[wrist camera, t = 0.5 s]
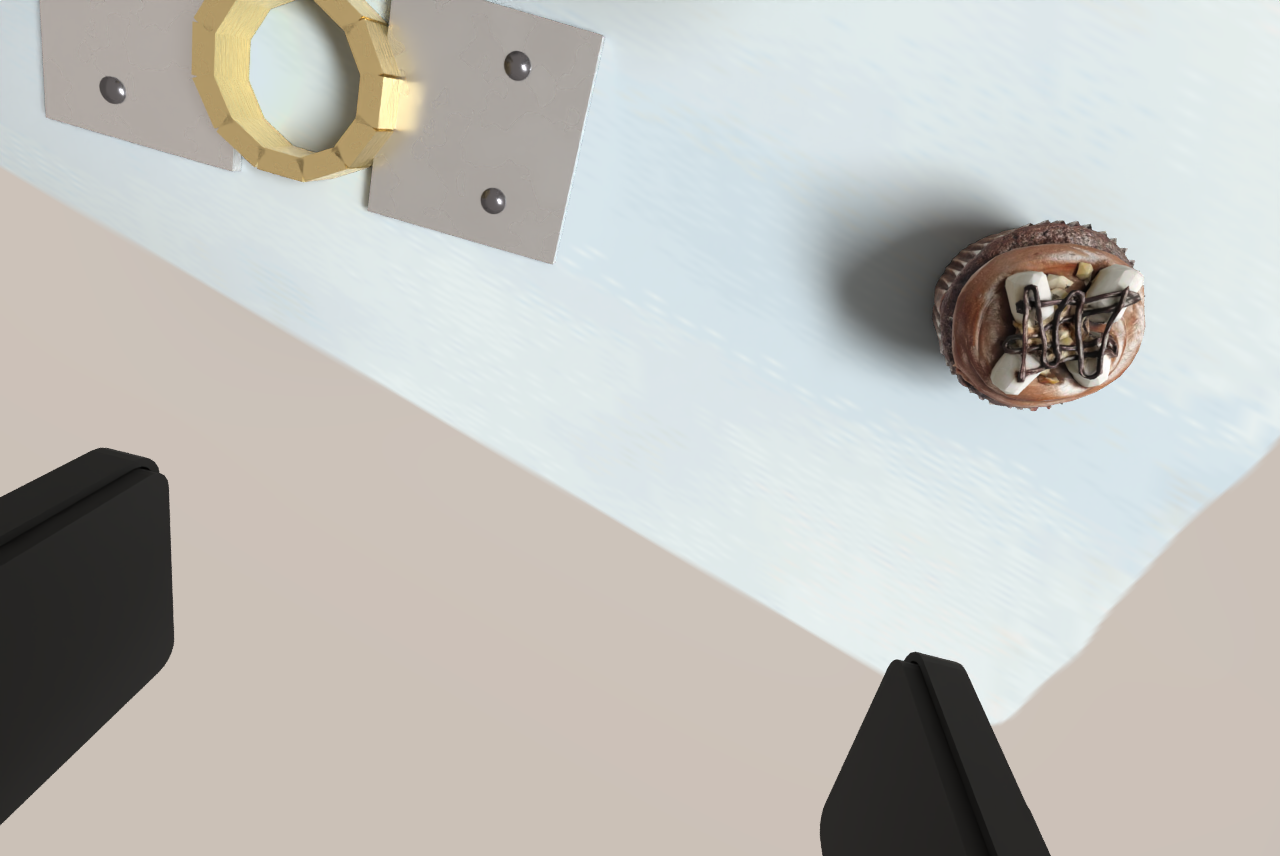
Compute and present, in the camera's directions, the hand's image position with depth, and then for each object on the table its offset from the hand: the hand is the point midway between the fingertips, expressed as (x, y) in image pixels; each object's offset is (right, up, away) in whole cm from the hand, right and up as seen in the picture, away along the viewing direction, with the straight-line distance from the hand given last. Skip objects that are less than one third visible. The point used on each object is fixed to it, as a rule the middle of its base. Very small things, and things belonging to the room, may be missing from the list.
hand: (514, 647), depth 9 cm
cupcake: (+22, +10, +32) cm, 40 cm away
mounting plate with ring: (-16, +22, +31) cm, 41 cm away
